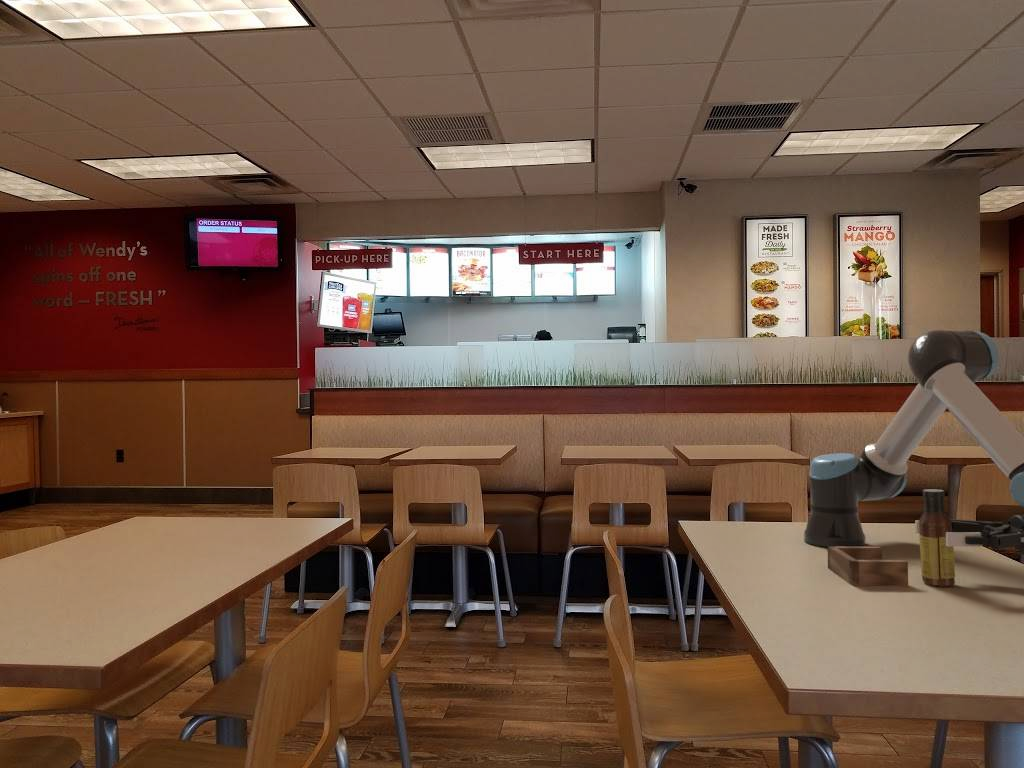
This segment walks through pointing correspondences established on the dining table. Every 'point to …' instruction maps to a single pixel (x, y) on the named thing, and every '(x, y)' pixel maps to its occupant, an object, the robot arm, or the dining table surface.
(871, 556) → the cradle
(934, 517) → the sauce bottle
